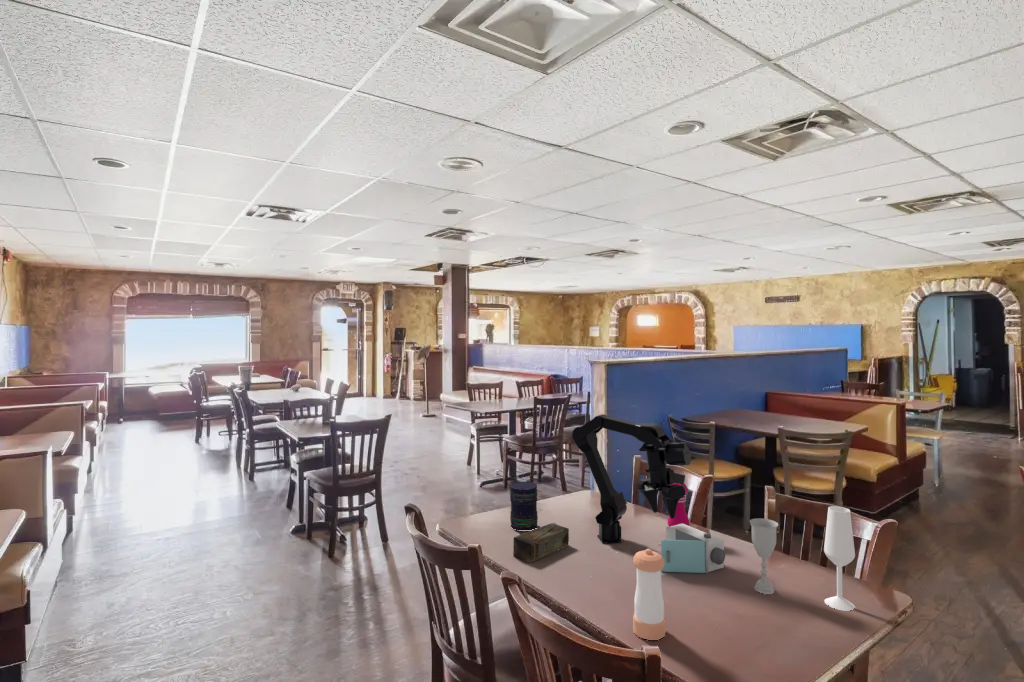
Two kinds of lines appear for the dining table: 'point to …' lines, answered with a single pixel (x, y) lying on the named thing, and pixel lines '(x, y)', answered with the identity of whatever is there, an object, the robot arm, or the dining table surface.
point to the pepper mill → (680, 512)
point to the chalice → (764, 548)
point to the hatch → (683, 555)
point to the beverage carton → (540, 542)
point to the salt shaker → (649, 596)
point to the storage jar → (523, 505)
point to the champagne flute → (839, 550)
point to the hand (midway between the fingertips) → (663, 515)
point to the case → (712, 543)
